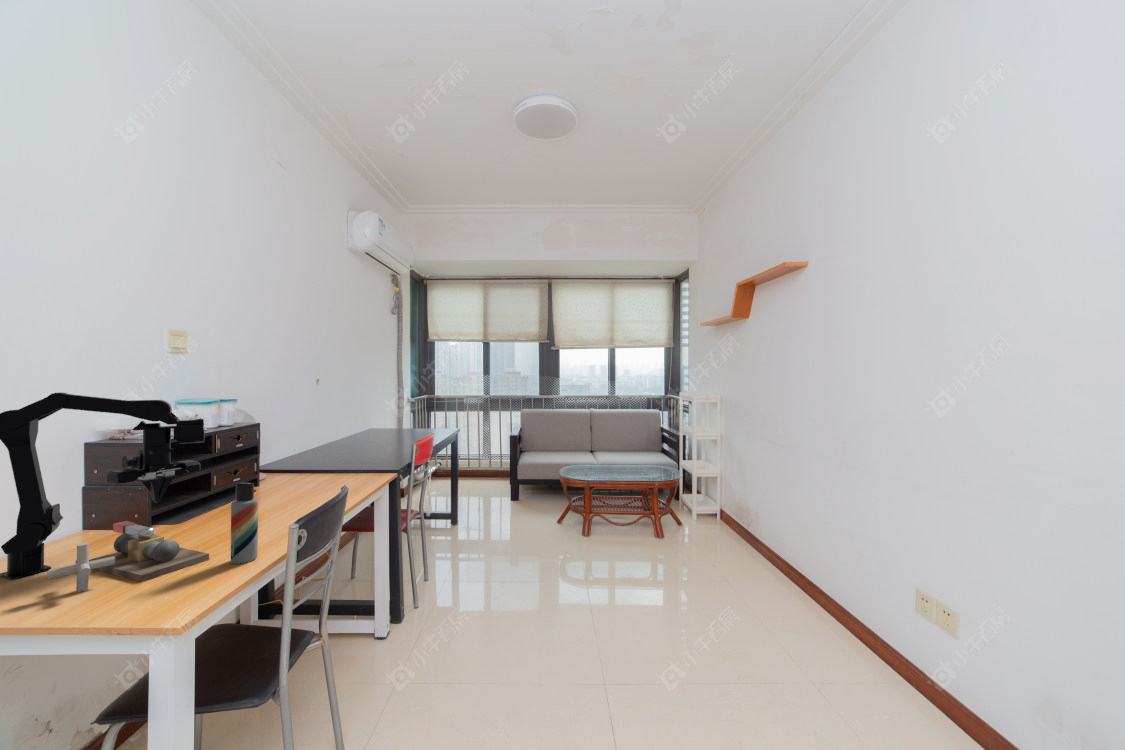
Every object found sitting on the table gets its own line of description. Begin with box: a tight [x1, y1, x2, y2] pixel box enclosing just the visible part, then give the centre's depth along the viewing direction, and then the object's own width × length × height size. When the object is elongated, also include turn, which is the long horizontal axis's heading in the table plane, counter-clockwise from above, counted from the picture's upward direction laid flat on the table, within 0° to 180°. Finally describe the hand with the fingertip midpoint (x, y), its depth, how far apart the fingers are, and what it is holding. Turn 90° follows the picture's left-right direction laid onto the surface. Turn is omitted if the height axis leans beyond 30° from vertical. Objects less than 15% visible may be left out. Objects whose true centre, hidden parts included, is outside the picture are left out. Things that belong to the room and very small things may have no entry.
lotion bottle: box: [230, 481, 259, 565], centre depth 115 cm, size 6×6×20 cm
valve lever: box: [112, 520, 155, 538], centre depth 116 cm, size 15×3×2 cm, turn 66°
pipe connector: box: [47, 542, 115, 593], centre depth 99 cm, size 10×10×10 cm
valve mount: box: [89, 533, 210, 583], centre depth 113 cm, size 24×14×6 cm, turn 69°
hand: (156, 502), depth 122 cm, fingers closed
